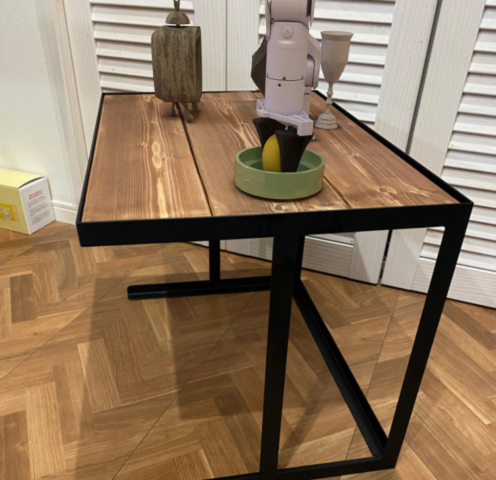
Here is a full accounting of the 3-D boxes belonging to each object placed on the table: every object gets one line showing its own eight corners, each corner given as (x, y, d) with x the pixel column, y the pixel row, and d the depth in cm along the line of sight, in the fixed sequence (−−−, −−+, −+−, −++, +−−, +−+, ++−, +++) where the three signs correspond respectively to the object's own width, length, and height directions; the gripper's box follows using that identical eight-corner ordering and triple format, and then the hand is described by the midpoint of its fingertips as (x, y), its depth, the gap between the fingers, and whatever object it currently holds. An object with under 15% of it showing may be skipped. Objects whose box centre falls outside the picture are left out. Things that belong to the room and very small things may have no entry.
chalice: (340, 131, 110) (353, 36, 99) (309, 128, 111) (318, 34, 100) (342, 122, 116) (354, 31, 105) (312, 120, 117) (321, 30, 106)
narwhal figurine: (301, 103, 130) (308, 21, 119) (315, 119, 118) (325, 29, 107) (245, 103, 128) (247, 20, 117) (255, 119, 116) (258, 28, 105)
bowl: (221, 176, 86) (221, 149, 83) (295, 167, 91) (297, 141, 88) (257, 208, 75) (259, 178, 73) (338, 195, 80) (342, 167, 78)
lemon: (274, 174, 86) (277, 124, 81) (301, 182, 83) (306, 131, 78) (254, 182, 82) (255, 131, 78) (281, 191, 80) (285, 138, 75)
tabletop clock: (197, 125, 111) (192, -13, 96) (155, 123, 111) (145, -15, 96) (203, 109, 123) (200, -17, 108) (165, 107, 123) (157, -18, 108)
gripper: (239, 69, 77) (238, 159, 85) (284, 88, 67) (277, 189, 75) (281, 67, 80) (275, 154, 88) (330, 85, 69) (319, 183, 77)
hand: (279, 170), depth 82 cm, fingers closed on lemon, 5 cm apart
